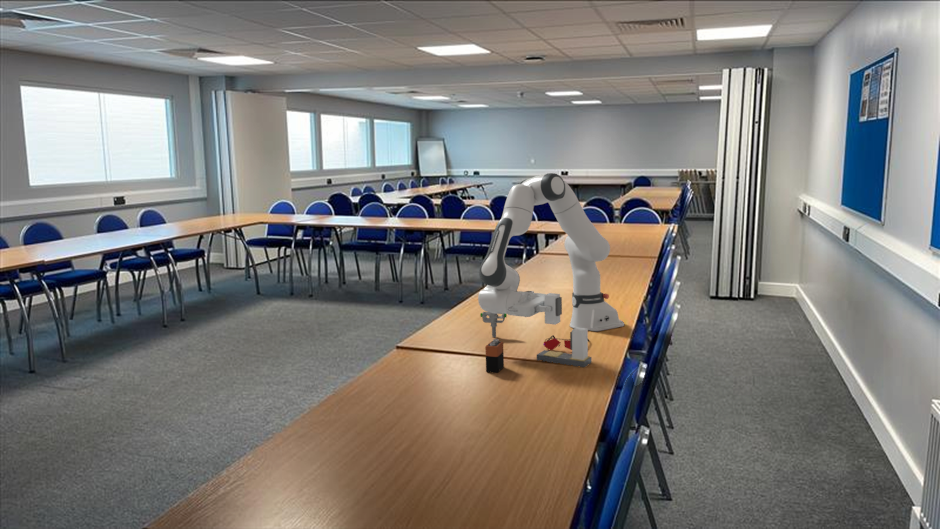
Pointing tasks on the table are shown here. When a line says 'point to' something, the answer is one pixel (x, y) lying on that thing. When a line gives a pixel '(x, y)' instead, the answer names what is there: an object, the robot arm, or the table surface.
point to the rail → (562, 358)
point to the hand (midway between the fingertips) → (554, 307)
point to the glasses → (556, 343)
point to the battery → (494, 356)
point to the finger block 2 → (579, 343)
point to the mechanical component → (493, 320)
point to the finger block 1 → (553, 308)
